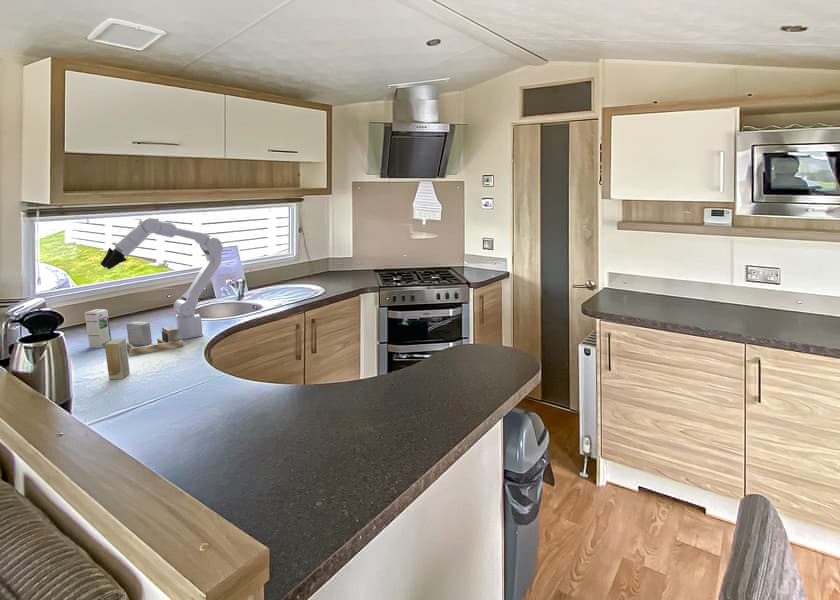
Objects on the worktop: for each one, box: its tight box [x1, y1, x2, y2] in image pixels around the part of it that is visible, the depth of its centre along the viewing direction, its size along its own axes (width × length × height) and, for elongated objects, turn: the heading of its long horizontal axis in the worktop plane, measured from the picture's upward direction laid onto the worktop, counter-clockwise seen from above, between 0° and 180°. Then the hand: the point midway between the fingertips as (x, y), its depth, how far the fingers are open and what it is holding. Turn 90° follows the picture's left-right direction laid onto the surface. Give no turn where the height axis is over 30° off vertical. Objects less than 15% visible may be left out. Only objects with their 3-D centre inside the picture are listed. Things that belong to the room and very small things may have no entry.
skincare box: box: [104, 338, 131, 380], centre depth 184 cm, size 6×4×12 cm
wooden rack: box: [126, 325, 185, 356], centre depth 219 cm, size 19×10×7 cm, turn 129°
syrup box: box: [84, 308, 112, 349], centre depth 223 cm, size 6×6×14 cm
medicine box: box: [126, 321, 153, 346], centre depth 226 cm, size 8×4×9 cm, turn 71°
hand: (104, 266), depth 214 cm, fingers open, 7 cm apart
